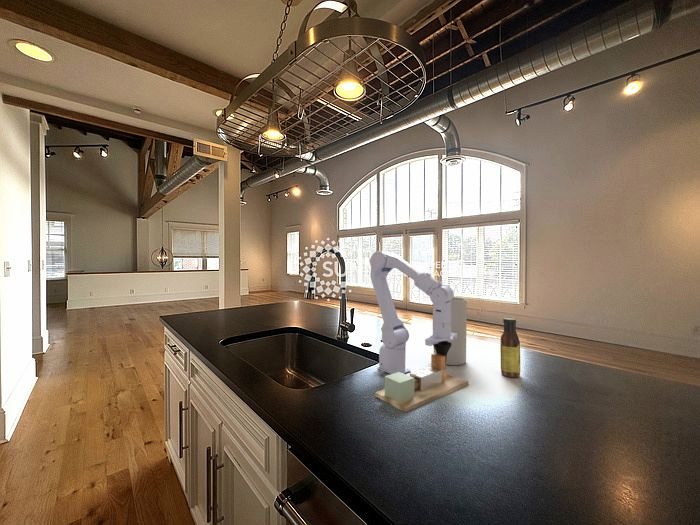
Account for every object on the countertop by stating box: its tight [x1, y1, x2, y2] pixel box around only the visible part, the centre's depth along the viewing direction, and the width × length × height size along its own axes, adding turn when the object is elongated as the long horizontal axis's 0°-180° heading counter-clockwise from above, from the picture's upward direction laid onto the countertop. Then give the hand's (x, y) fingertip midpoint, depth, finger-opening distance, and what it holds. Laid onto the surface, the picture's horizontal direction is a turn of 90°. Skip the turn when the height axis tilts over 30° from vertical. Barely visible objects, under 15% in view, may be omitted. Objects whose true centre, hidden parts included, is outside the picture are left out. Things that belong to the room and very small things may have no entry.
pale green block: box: [384, 372, 414, 402], centre depth 88 cm, size 6×6×5 cm
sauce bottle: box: [499, 317, 521, 378], centre depth 109 cm, size 6×6×20 cm
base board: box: [374, 372, 469, 413], centre depth 95 cm, size 12×30×1 cm, turn 128°
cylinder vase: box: [433, 297, 468, 366], centre depth 124 cm, size 12×12×25 cm
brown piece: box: [413, 352, 446, 389], centre depth 94 cm, size 4×20×8 cm, turn 128°
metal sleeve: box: [409, 365, 442, 392], centre depth 96 cm, size 4×10×4 cm, turn 128°
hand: (441, 364), depth 101 cm, fingers closed
